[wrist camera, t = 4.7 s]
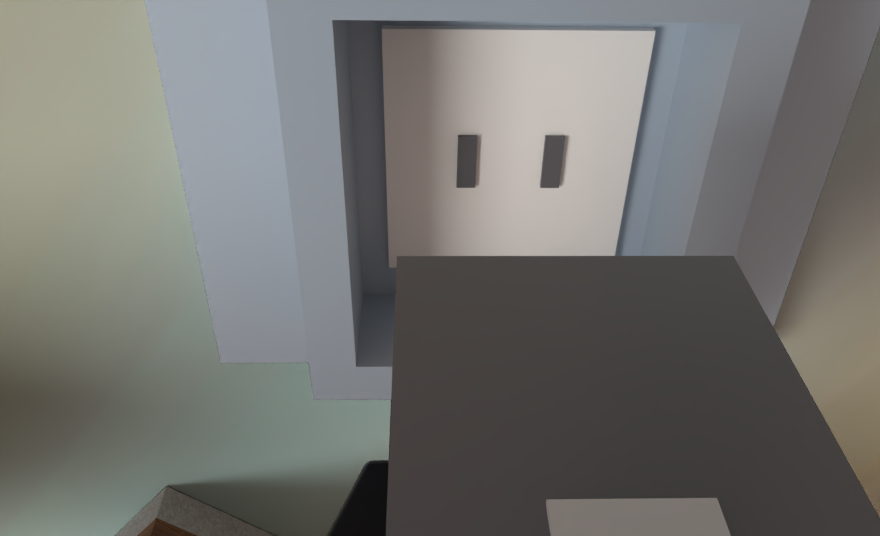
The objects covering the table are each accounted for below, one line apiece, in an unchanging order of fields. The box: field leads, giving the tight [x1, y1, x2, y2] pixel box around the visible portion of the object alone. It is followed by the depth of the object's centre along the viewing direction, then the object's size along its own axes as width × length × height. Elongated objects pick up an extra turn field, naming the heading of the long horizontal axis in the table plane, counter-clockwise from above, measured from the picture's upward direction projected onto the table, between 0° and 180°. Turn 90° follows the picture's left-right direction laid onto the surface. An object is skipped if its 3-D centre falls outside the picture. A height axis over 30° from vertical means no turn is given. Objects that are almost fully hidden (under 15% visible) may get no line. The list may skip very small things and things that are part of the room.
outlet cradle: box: [144, 0, 880, 400], centre depth 16 cm, size 14×12×4 cm
